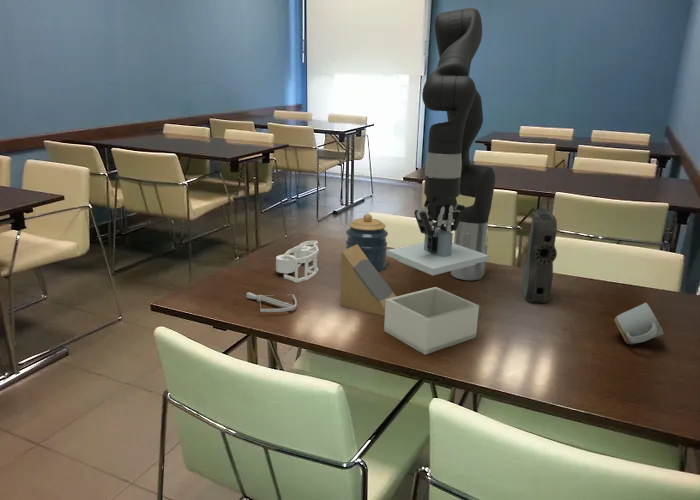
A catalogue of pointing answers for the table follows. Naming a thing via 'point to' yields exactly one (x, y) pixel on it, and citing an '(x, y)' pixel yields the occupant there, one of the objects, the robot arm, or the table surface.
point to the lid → (437, 255)
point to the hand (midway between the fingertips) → (437, 250)
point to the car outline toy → (298, 261)
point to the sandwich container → (362, 283)
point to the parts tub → (431, 319)
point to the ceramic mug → (638, 324)
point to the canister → (369, 239)
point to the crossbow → (273, 302)
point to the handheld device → (539, 258)
